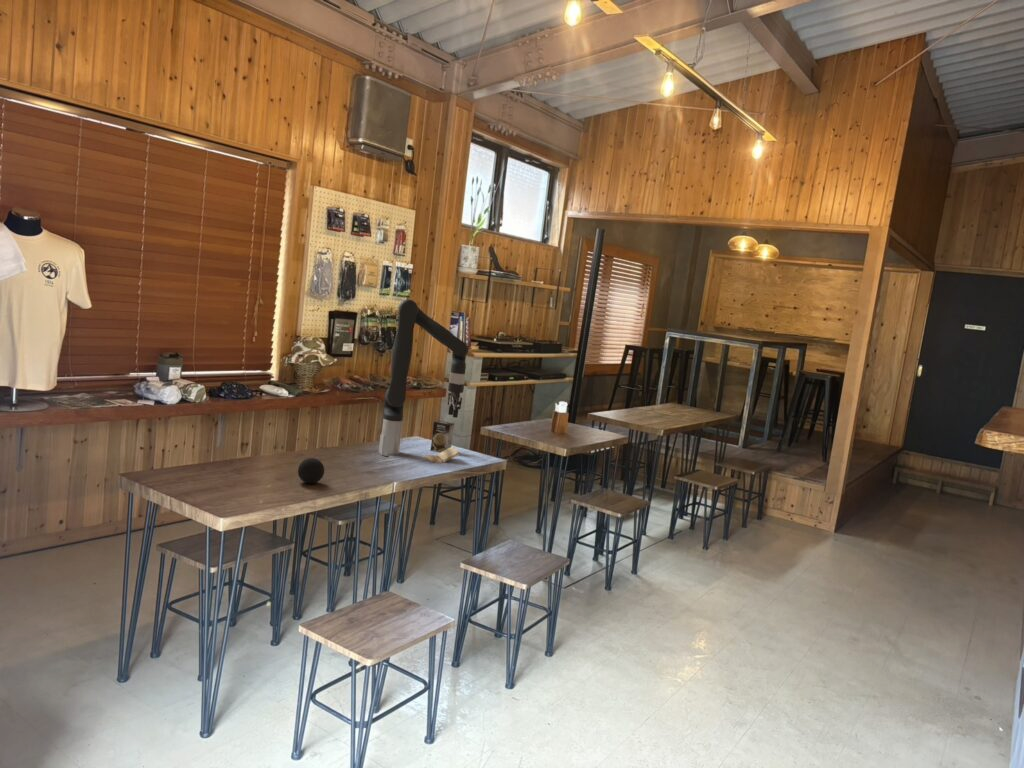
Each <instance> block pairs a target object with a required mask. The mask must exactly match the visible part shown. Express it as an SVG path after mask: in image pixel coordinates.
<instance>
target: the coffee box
mask: <svg viewBox="0 0 1024 768" xmlns="http://www.w3.org/2000/svg"><path fill="white" fill-rule="evenodd" d="M454 426H455V423H454V422H448V421H444V420H434V421H433V425H432V434H431V444H430V452H436V453H441V452H443V451H445V450H447V449H448V448H450V447H452V444H453V443H452V442H453V435H454V428H455V427H454Z"/></svg>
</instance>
